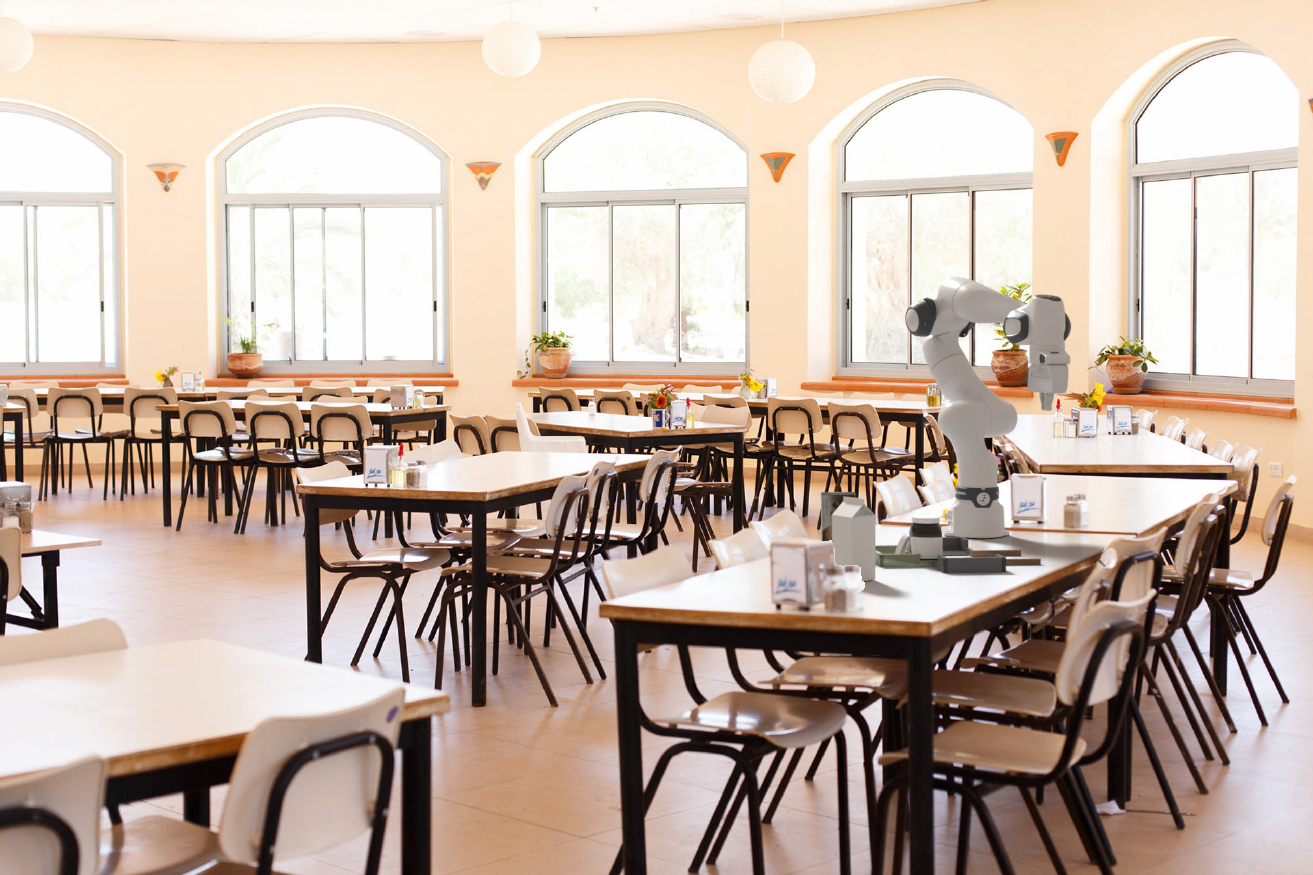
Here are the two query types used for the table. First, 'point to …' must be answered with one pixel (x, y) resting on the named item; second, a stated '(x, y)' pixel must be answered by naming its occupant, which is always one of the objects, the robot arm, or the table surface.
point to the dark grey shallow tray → (970, 564)
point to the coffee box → (830, 510)
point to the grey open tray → (954, 546)
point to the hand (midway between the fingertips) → (1046, 410)
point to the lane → (889, 559)
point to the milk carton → (854, 536)
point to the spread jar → (923, 538)
